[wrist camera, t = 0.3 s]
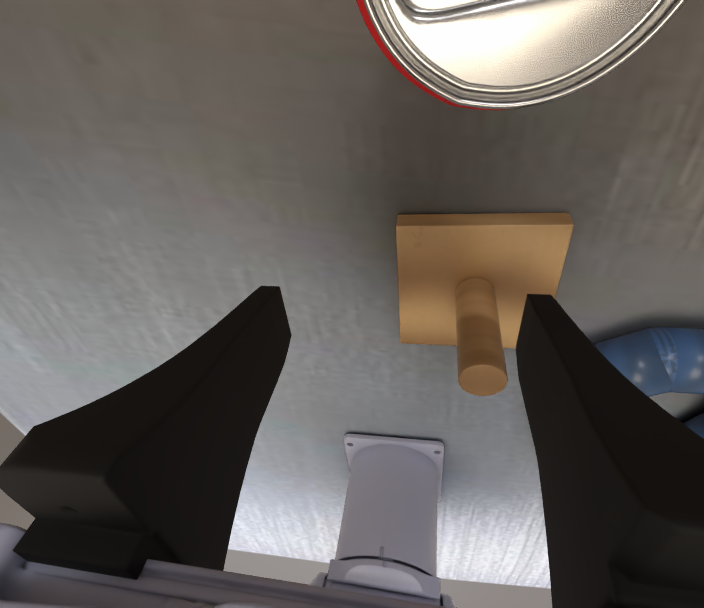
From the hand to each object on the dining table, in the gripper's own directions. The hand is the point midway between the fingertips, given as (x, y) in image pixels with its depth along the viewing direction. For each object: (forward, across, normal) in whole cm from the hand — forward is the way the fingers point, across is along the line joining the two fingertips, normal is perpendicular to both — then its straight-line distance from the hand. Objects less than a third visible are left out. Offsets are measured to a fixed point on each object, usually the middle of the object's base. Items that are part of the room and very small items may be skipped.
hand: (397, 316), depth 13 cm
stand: (+10, -3, +6) cm, 12 cm away
